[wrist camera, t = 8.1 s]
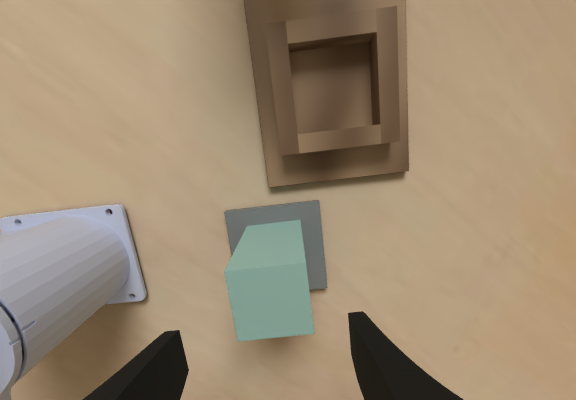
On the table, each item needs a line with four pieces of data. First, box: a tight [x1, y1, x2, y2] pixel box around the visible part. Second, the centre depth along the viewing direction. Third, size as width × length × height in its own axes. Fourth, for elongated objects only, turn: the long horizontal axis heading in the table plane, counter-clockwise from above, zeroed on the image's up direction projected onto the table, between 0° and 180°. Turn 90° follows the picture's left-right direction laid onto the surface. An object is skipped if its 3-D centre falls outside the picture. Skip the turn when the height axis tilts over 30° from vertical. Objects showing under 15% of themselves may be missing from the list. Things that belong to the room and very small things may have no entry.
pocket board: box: [244, 0, 409, 187], centre depth 17 cm, size 10×12×2 cm
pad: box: [225, 200, 327, 290], centre depth 20 cm, size 7×7×1 cm
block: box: [224, 220, 315, 342], centre depth 17 cm, size 4×4×7 cm
